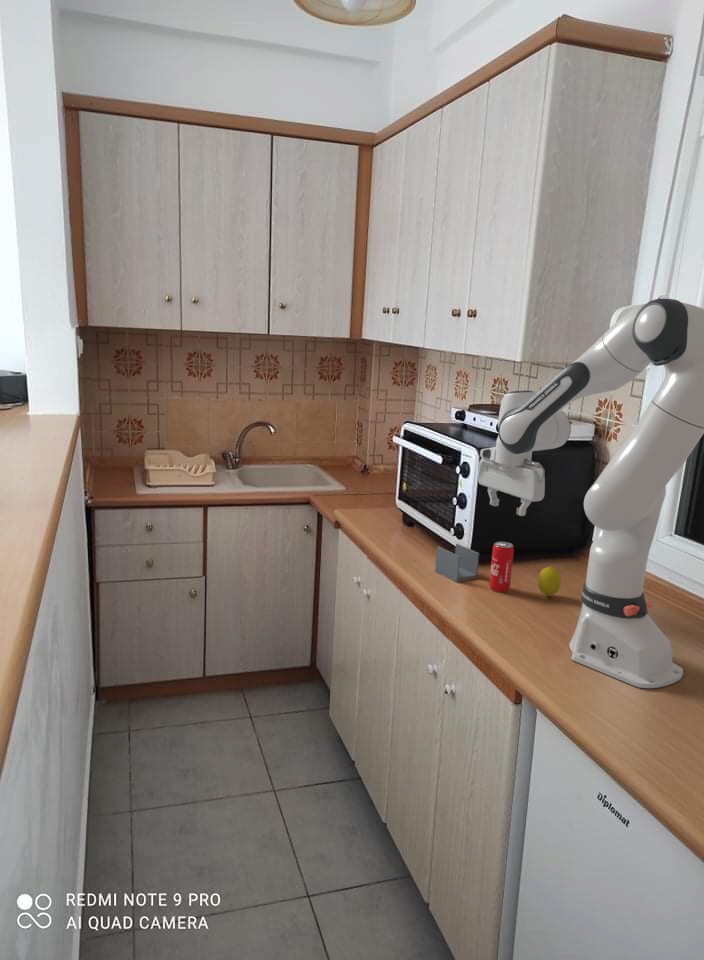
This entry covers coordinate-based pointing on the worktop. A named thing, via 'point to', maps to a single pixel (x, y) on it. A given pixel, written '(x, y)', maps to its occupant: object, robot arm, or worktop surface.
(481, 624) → the worktop surface
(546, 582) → the lemon
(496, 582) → the beverage can
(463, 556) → the bracket
